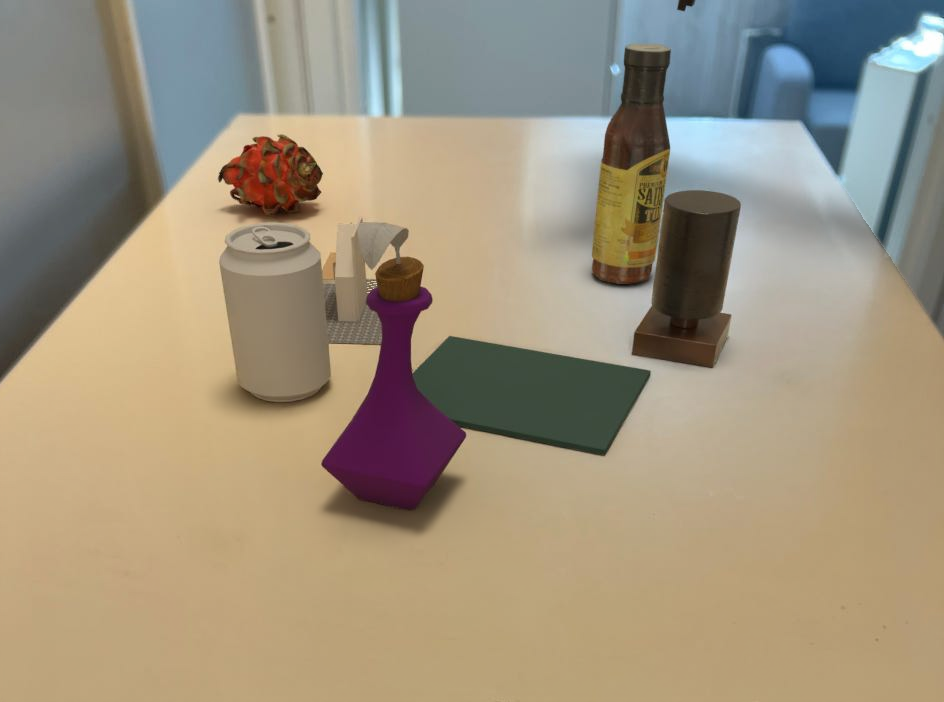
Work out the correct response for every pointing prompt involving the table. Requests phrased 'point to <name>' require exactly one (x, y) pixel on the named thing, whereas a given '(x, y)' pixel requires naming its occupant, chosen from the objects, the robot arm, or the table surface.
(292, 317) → the can
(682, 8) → the robot arm
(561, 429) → the mat
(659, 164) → the sauce bottle
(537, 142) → the table surface
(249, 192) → the dragon fruit
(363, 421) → the perfume bottle
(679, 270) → the dark brown piece
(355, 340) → the architectural model
